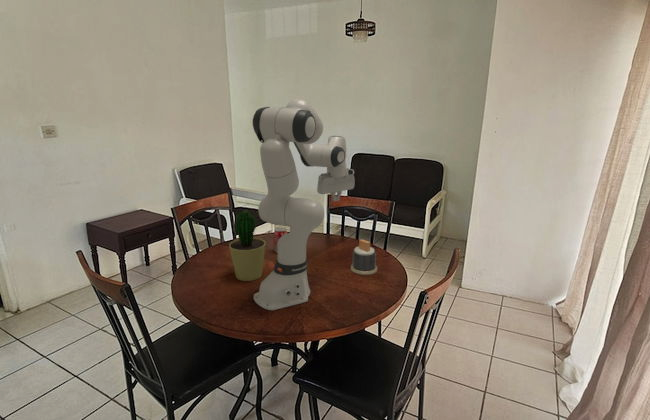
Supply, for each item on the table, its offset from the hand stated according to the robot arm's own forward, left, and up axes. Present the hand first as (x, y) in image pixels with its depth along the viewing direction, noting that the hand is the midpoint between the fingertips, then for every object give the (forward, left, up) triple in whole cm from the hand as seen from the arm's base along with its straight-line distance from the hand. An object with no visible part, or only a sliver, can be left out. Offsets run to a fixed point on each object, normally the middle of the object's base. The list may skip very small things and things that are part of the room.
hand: (336, 200), depth 172 cm
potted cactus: (-42, +9, -29) cm, 52 cm away
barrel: (+2, -18, -29) cm, 34 cm away
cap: (+2, -18, -24) cm, 30 cm away
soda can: (-16, +24, -29) cm, 41 cm away
